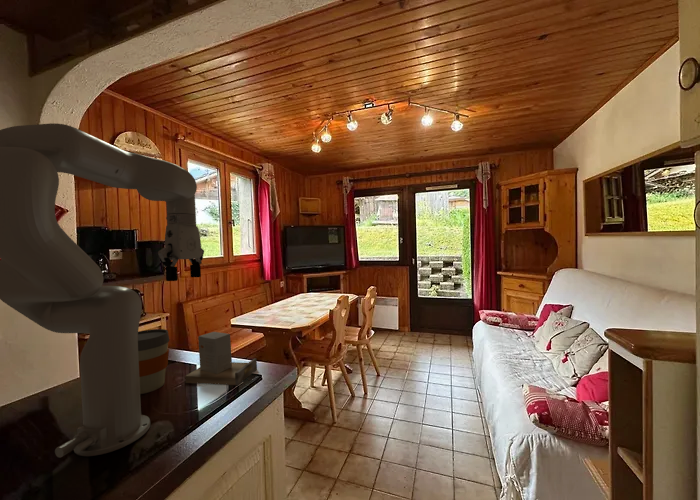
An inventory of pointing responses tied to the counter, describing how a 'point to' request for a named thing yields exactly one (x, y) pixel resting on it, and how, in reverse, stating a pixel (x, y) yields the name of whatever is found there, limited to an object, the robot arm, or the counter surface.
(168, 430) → the counter surface
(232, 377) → the shelf board
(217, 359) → the small box
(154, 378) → the reusable coffee cup
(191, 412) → the counter surface
